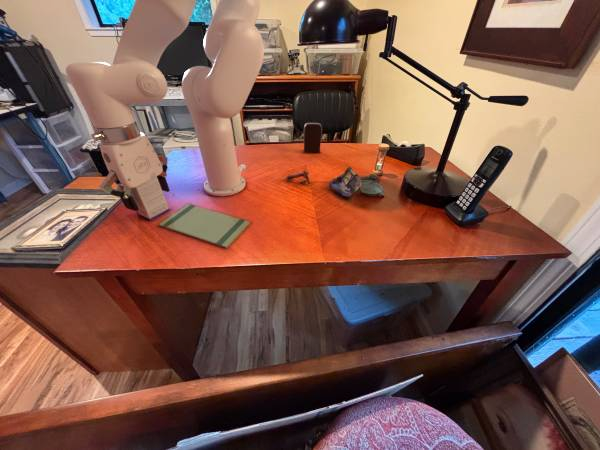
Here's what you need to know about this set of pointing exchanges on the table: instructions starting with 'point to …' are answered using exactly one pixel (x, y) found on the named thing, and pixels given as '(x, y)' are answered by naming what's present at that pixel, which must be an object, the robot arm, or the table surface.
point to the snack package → (346, 183)
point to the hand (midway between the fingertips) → (150, 199)
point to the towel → (205, 225)
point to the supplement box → (150, 198)
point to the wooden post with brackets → (299, 176)
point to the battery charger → (312, 137)
